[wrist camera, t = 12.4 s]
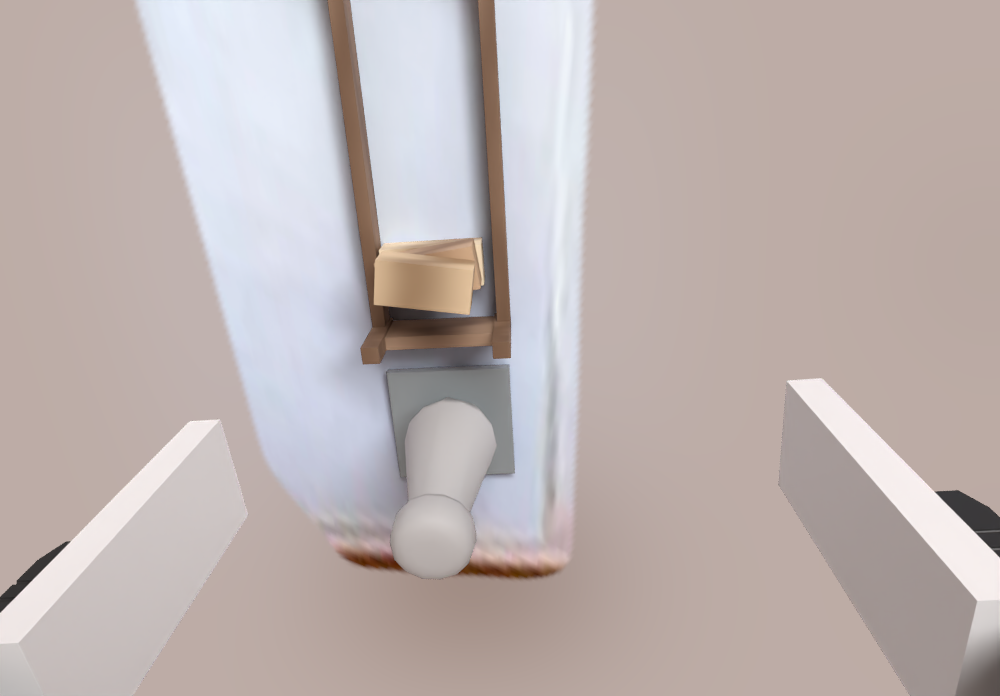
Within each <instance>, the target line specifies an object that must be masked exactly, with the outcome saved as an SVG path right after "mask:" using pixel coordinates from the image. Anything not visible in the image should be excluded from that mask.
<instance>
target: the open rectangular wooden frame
mask: <svg viewBox="0 0 1000 696" xmlns="http://www.w3.org/2000/svg"><path fill="white" fill-rule="evenodd" d="M328 8H329V15H330V22H331V29H332V37H333V44H334V51H335V58H336V66H337V73H338V80H339V87H340V95H341V102H342V109H343V117H344V124H345V131H346V138H347V146H348V153H349V160H350V167H351V175H352V182H353V189H354V196H355V204H356V211H357V218H358V225H359V233H360V240H361V247H362V254H363V262H364V269H365V276H366V284H367V291H368V298H369V305H370V313H371V320H372V329H371V331H370V333H369V334H368V336H367V338H366V340H365V341H364V343H363V345H362V346H361V355H362V362H363V364H380V363H381V361H382V359H383V356H384V354H385V352H386V350H403V349H426V348H449V347H472V346H492V348H493V359H500V358H511V316H510V297H509V277H508V258H507V238H506V219H505V199H504V180H503V160H502V141H501V121H500V101H499V82H498V62H497V43H496V23H495V4H494V0H478V10H479V26H480V43H481V60H482V77H483V93H484V110H485V127H486V144H487V160H488V177H489V194H490V211H491V227H492V244H493V261H494V278H495V294H496V311H497V313H495V314H494V316H487V317H465V318H442V319H420V320H398V321H393V318H390V314H389V306H381V305H374V279H375V268H374V263H375V259H376V258H377V257H378V255H379V249H380V248H381V243H380V235H379V227H378V219H377V211H376V203H375V195H374V187H373V179H372V172H371V164H370V156H369V148H368V140H367V132H366V124H365V116H364V108H363V100H362V92H361V84H360V76H359V68H358V61H357V53H356V45H355V37H354V29H353V21H352V13H351V5H350V0H328Z"/></svg>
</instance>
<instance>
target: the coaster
mask: <svg viewBox="0 0 1000 696" xmlns="http://www.w3.org/2000/svg"><path fill="white" fill-rule="evenodd" d="M387 381H388V388H389V396H390V403H391V411H392V418H393V426H394V433H395V441H396V448H397V456H398V464H399V471H400V477H407V474H406V455H405V438H406V434H407V430H408V426H409V423H410V421H411V420H412V419H413V418H414V417H415V416H416V415H417V414H418V413H419V411H420V410H421V409H422V408H423V407H425V406H427V405H430V404H433V403H435V402H438V401H441V400H443V399H444V398H446V397H450V398H454V399H457V400H461V401H465V402H469V403H473V404H474V405H476V406H477V407H478V408H479V409H480V410H481V411H482V413H483V414H484V415H485V417H486V418H487V419H488V420H489V422H490V423H491V424H492V428H493V432H494V436H495V441H496V445H497V447H496V449H495V452H494V455H493V458H492V461H491V463H490V466H489V468H488V470H487V472H486V474H511V473H515V464H514V446H513V427H512V408H511V390H510V371H509V365H485V366H461V367H437V368H414V369H390V370H388V371H387Z"/></svg>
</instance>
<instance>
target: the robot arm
mask: <svg viewBox="0 0 1000 696" xmlns="http://www.w3.org/2000/svg"><path fill="white" fill-rule="evenodd" d="M785 395H786V396H785V407H784V420H783V432H782V446H781V458H780V470H779V484H778V485H779V486H780V488H781V490H782V491H783V493H784V495H785V496H786V498H787V499H788V501H789V503H790V504H791V506H792V507H793V509H794V511H795V512H796V514H797V515H798V517H799V519H800V520H801V522H802V523H803V525H804V527H805V528H806V530H807V531H808V533H809V535H810V536H811V538H812V539H813V541H814V543H815V544H816V546H817V547H818V549H819V551H820V552H821V554H822V555H823V557H824V559H825V560H826V562H827V563H828V565H829V567H830V568H831V570H832V571H833V573H834V575H835V576H836V578H837V580H838V581H839V583H840V584H841V586H842V587H843V589H844V591H845V592H846V594H847V595H848V597H849V599H850V600H851V602H852V604H853V605H854V607H855V608H856V610H857V612H858V613H859V615H860V616H861V618H862V619H863V621H864V623H865V624H866V626H867V628H868V629H869V631H870V632H871V634H872V636H873V637H874V639H875V640H876V642H877V644H878V645H879V647H880V648H881V650H882V652H883V653H884V655H885V656H886V658H887V660H888V661H889V663H890V664H891V666H892V668H893V669H894V671H895V673H896V674H897V676H898V677H899V679H900V681H901V682H902V684H903V685H904V687H905V688H906V690H907V692H908V693H909V695H910V696H1000V517H999V516H998V515H997V514H996V513H995V512H993V511H992V510H991V509H990V508H989V507H988V506H985V505H984V504H982V503H980V502H978V501H976V500H975V499H973V498H971V497H969V496H967V495H965V494H964V493H962V492H960V491H958V490H956V491H938V492H934V491H933V490H932V489H931V488H930V487H929V486H928V485H927V484H926V483H925V482H924V481H923V480H922V479H921V478H920V477H919V476H918V475H917V474H916V473H915V472H914V471H913V470H912V469H911V468H910V467H909V466H908V465H907V464H906V463H905V462H904V461H903V460H902V459H901V458H900V457H899V456H898V455H897V454H896V453H895V452H894V451H893V450H892V449H891V448H890V447H889V446H888V445H887V444H886V443H885V442H884V441H883V440H882V438H880V436H879V435H878V434H876V432H875V431H873V430H872V428H871V427H870V426H869V425H868V424H867V423H866V422H865V421H864V420H863V419H862V418H861V417H860V416H859V415H858V414H857V413H856V412H855V411H854V410H853V409H852V408H851V407H850V406H849V405H848V404H847V403H846V402H845V401H844V400H843V399H842V398H841V397H840V396H839V395H838V394H837V393H836V392H835V391H834V390H833V389H832V388H831V387H830V386H829V385H828V384H827V383H826V382H825V381H824V380H823V379H822V378H820V379H806V380H791V381H787V382H786V394H785ZM247 516H248V513H247V509H246V505H245V502H244V499H243V495H242V492H241V488H240V485H239V482H238V478H237V475H236V471H235V468H234V465H233V461H232V458H231V455H230V451H229V447H228V444H227V440H226V437H225V434H224V430H223V427H222V423H221V420H220V419H218V420H204V421H191V422H188V424H186V425H185V427H183V428H182V430H181V431H179V433H178V434H177V435H176V436H175V437H174V438H173V439H172V440H171V441H170V442H169V443H168V444H167V445H166V446H165V447H164V448H163V449H162V450H161V451H160V452H159V453H158V454H157V455H156V456H155V457H154V458H153V459H152V460H151V461H150V462H149V463H148V464H147V465H146V466H145V467H144V468H143V469H142V470H141V471H140V472H139V473H138V474H137V475H136V476H135V477H134V478H133V479H132V480H131V481H130V482H129V483H128V484H127V485H126V486H125V487H124V488H123V489H122V490H121V491H120V492H119V493H118V494H117V495H116V496H115V497H114V498H113V499H112V500H111V501H110V502H109V503H108V504H107V505H106V507H104V509H102V510H101V512H100V513H99V514H98V515H97V516H96V517H95V518H94V519H93V520H92V521H91V522H90V523H89V524H88V525H87V526H86V527H85V528H84V529H83V530H82V531H81V532H80V533H79V534H78V535H77V536H76V537H75V538H74V539H73V540H72V541H69V542H65V543H63V544H62V545H60V546H59V547H57V548H55V549H54V550H52V551H51V552H49V553H48V554H46V555H45V556H43V557H42V558H40V559H39V560H37V561H36V562H35V563H34V564H33V565H32V566H31V567H30V568H29V569H28V570H27V571H26V572H25V573H24V574H23V575H22V576H21V577H20V578H19V579H18V580H17V584H16V585H12V586H11V587H10V588H9V589H8V590H7V591H6V592H5V593H4V594H3V595H2V596H1V597H0V696H133V694H134V693H135V691H136V690H137V688H138V686H139V685H140V683H141V682H142V680H143V679H144V677H145V676H146V674H147V673H148V671H149V669H150V668H151V666H152V665H153V663H154V661H155V660H156V658H157V657H158V655H159V654H160V652H161V651H162V649H163V647H164V646H165V644H166V643H167V641H168V640H169V638H170V637H171V635H172V633H173V632H174V630H175V628H176V627H177V625H178V624H179V622H180V621H181V619H182V618H183V616H184V615H185V613H186V612H187V610H188V608H189V607H190V605H191V604H192V602H193V601H194V599H195V597H196V596H197V594H198V593H199V591H200V589H201V588H202V586H203V585H204V583H205V581H206V580H207V579H208V577H209V576H210V574H211V572H212V571H213V569H214V568H215V566H216V565H217V563H218V561H219V560H220V558H221V557H222V555H223V554H224V552H225V551H226V549H227V547H228V546H229V544H230V543H231V541H232V540H233V538H234V536H235V535H236V533H237V532H238V530H239V529H240V527H241V526H242V524H243V522H244V521H245V519H246V518H247Z"/></svg>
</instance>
